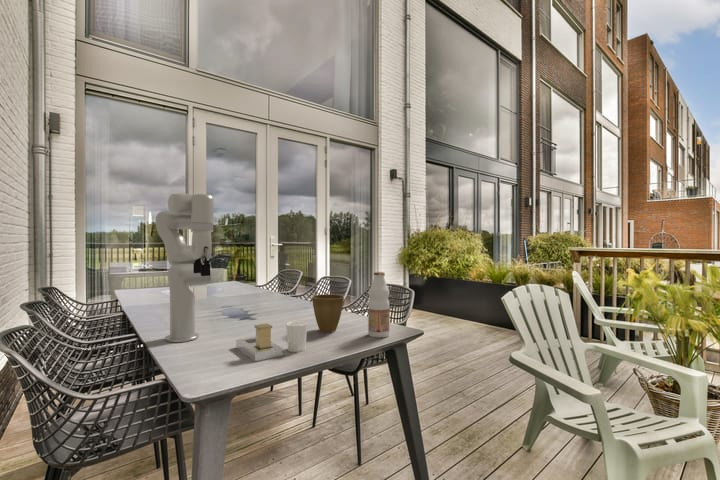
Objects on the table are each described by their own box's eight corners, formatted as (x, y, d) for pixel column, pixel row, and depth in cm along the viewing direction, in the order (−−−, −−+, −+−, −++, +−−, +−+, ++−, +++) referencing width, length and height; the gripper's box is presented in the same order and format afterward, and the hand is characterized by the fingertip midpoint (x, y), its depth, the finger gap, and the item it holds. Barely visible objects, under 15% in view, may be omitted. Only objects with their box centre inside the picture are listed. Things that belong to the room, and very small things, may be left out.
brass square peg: (254, 354, 132) (254, 325, 132) (266, 352, 135) (266, 323, 135) (259, 358, 129) (259, 327, 129) (272, 355, 132) (272, 325, 132)
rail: (236, 347, 141) (236, 339, 141) (260, 343, 147) (260, 335, 147) (255, 361, 125) (255, 352, 125) (281, 356, 131) (282, 347, 131)
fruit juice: (366, 337, 157) (367, 272, 157) (370, 331, 166) (370, 271, 166) (388, 338, 155) (388, 273, 155) (390, 333, 164) (390, 271, 164)
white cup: (289, 353, 134) (289, 326, 134) (283, 348, 141) (283, 322, 141) (309, 350, 137) (310, 324, 137) (303, 345, 144) (303, 320, 144)
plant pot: (343, 335, 160) (343, 299, 160) (309, 334, 160) (309, 298, 160) (344, 326, 175) (345, 293, 175) (314, 326, 175) (314, 293, 175)
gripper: (185, 227, 137) (184, 272, 138) (197, 227, 124) (197, 277, 124) (206, 228, 142) (205, 271, 142) (220, 228, 129) (219, 276, 129)
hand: (201, 274), depth 133 cm, fingers open, 9 cm apart
